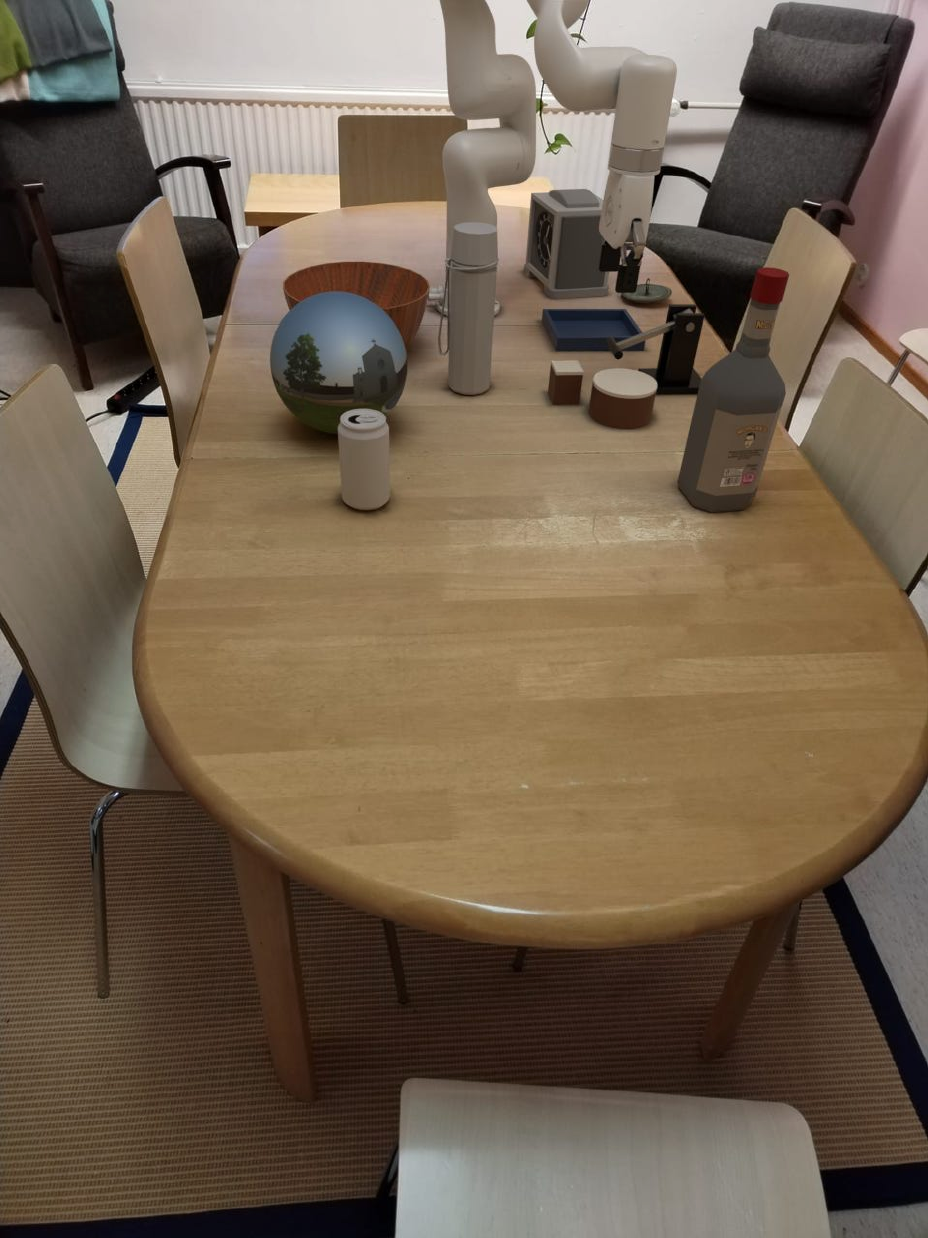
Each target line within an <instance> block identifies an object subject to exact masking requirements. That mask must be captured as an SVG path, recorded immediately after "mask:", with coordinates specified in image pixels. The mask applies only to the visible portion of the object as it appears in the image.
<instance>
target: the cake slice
mask: <svg viewBox="0 0 928 1238" xmlns="http://www.w3.org/2000/svg"><path fill="white" fill-rule="evenodd" d="M583 379H584V370H583V368H582V366H581V364H580V362H579V361H578V360H551V361H550V369H549V378H548V388H547V395H548V397H549V399H550V402H551V404H552V406H553V405H554V406H555V405H557V406H560V405H561V406H562V405H580V401H581V395H582V386H583Z"/></svg>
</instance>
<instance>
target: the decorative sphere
mask: <svg viewBox="0 0 928 1238" xmlns="http://www.w3.org/2000/svg"><path fill="white" fill-rule="evenodd" d="M407 355H408V354H407V351H406V349H405V345H404V342H403V339H402V337H401V334H400V332H399V330H398V328H397V327H396V325H395V324H394V322H393V321H392V319H391V318H390V317H389V316H388V315H387V314H386V313H385V312H384V311H383V310H382V309H381V308H380V307H379V306H377V305H376V304H375V303H373V302H371V301H370V300H368V299H366V298H364V297H362V296H359V295H356V294H352V293H348V292H340V291H332V292H324V293H319V294H316V295H313V296H311V297H308V298H306V299H304V300H303V301H301V302H300V303H298V304H297V305H295V306H294V307H293V308H292V309H291V310H288V312H287V313H286V314H285V315H284V317H282V319H281V321H280V322H279V324H278V326H277V328H276V329H275V332H274V335H273V338H272V341H271V345H270V352H269V367H270V374H271V378H272V381H273V382H272V383H273V386H274V388H275V391H276V393H277V395H278V396H279V398H280V400H281V402H282V403H283V404H284V406H285V407H286V408H287V410H288V411H289V412H291V414H292V415H293V416H294V417H296V418H297V419H298V420H299V421H301V422H302V423H304V424H305V425H307V426H309V427H311V428H313V429H315V430H317V431H321V432H323V433H327V434H334V435H338V426H339V424H340V418H341V416H342V415H343V414H344V413H345V412H347V411H350V410H354V409H372V410H376V411H379V412H381V413H382V414H384V416H385V417H386V418H387V416H388V415H389V414H390V413H391V412H392V411H393V410H394V408H395V407H396V406H397V404H398V403H399V400H400V399H401V397H402V394H403V392H404V389H405V386H406V382H407V377H408V356H407Z"/></svg>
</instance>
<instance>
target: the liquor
mask: <svg viewBox="0 0 928 1238" xmlns="http://www.w3.org/2000/svg"><path fill="white" fill-rule="evenodd" d="M789 276H790V273H789V272H788V271H787V270H784V269H781V268H777V267H770V266H769V267H767V266H764V267H759V268H758V269H757V270H756V272H755V277H754V280H753V284H752V288H751V292H750V294H749V297H750V302H749V305H748V309H747V311H746V312H747V314H746V317H745V319H744V324H743V328H742V330H741V334H740V338H739V341H738V342H737V343H736V345H735V349H734V350H732V351H730V352H729V353H728V354H727V355H725V356H724V357H722V358H721V359H720V360H718V361H717V362H716V363H714V364H713V365H712V366H711V367H710V368H708V369H707V370H706V371H705V372H704V374H703V375H702V377H701V381H700V386H699V390H698V394H696V400H695V403H694V408H693V412H692V417H691V421H690V425H689V430H688V434H687V438H686V443H685V448H684V451H683V456H682V460H681V465H680V469H679V473H678V477H677V485H678V488H679V490H680V491H681V493H682V494H683V495H684V496H685V497H686V499H687V500H688V501H689V503H690V504H691V505H692V506H693V507H694V508H696V509H699V510H702V511H706V512H709V513H719V512H721V513H723V512H731V511H732V512H733V511H744V510H745V509H746V508H747V507H748V506H749V505H750V504H751V502H752V501H753V500H754V499H755V497H756V494H757V491H758V489H759V488H758V487H759V484H760V481H761V477H762V474H763V472H764V467H765V465H766V461H767V458H768V454H769V451H770V448H771V444H772V440H773V438H774V435H775V431H776V428H777V425H778V422H779V421H778V420H779V417H780V415H781V411H782V407H783V404H784V401H785V398H786V394H787V392H786V384H785V382H784V380H783V378H782V376H781V375H780V373H779V371H778V369H777V368H776V365H775V364H774V362H773V360H772V358H771V357H770V352H771V346H770V343H771V339H772V335H773V333H774V328H775V324H776V320H777V317H778V312H779V309H780V305H781V302H783V301H784V297H785V296H784V295H785V293H786V292H785V291H786V290H787V289H786V288H787V284H788V281H789Z"/></svg>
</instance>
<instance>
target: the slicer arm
mask: <svg viewBox="0 0 928 1238" xmlns="http://www.w3.org/2000/svg"><path fill="white" fill-rule="evenodd" d="M679 313H693V312H692V311H691V310H690V309H687V310H684V311H682V312H679ZM676 314H677V313H676ZM676 314H674V315H673V318H674V321H671V322H669V323H666V322H665V323H663V324H661V325H658V326H656V327H654V328H651V329H649V330H645V331H644V332H643V331H642V332H643V333H641V334H638V335H635V336H633V337H630V338H628V339H625V340H623V341H620V342H618V343H616V342H615V340H614V339H613V338H612V337H609V338H607V340H606V344H607V346H608V348H609V349H610V351H609V352H611V355H612V356H613V357H614V359H615V360H622V358H623V357H624V353H623V351H621V350H622V349H625V348H627V347H630V346H632V345H635V344H638V343H640V342H643V341H645V340H646V341H648V340H650V339H652V338H656V337H658V336H661V335H663V334H664V333H666V332H668V331H671V330H673V329H674V324H675V319H676ZM646 341H645V342H646Z"/></svg>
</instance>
